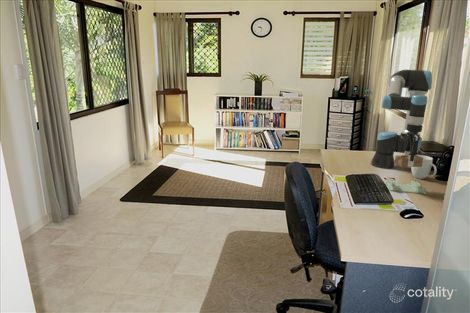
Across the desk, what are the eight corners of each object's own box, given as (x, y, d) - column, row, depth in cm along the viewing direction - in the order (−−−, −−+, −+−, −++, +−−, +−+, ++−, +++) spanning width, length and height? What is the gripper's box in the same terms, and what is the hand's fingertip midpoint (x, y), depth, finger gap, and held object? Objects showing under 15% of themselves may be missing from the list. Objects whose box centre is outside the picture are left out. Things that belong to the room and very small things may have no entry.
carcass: (384, 183, 208) (385, 174, 206) (418, 186, 205) (420, 178, 203) (389, 190, 195) (391, 182, 194) (426, 194, 192) (428, 185, 191)
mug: (438, 180, 217) (443, 159, 213) (429, 183, 211) (433, 162, 207) (415, 173, 228) (419, 154, 225) (405, 176, 223) (409, 156, 219)
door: (394, 163, 199) (395, 153, 198) (414, 163, 202) (416, 153, 200) (400, 166, 193) (402, 156, 192) (421, 166, 196) (423, 156, 194)
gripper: (402, 120, 202) (396, 159, 208) (413, 126, 182) (405, 168, 188) (416, 121, 201) (409, 160, 206) (429, 127, 181) (420, 170, 187)
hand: (407, 164), depth 197 cm, fingers closed on door, 8 cm apart
